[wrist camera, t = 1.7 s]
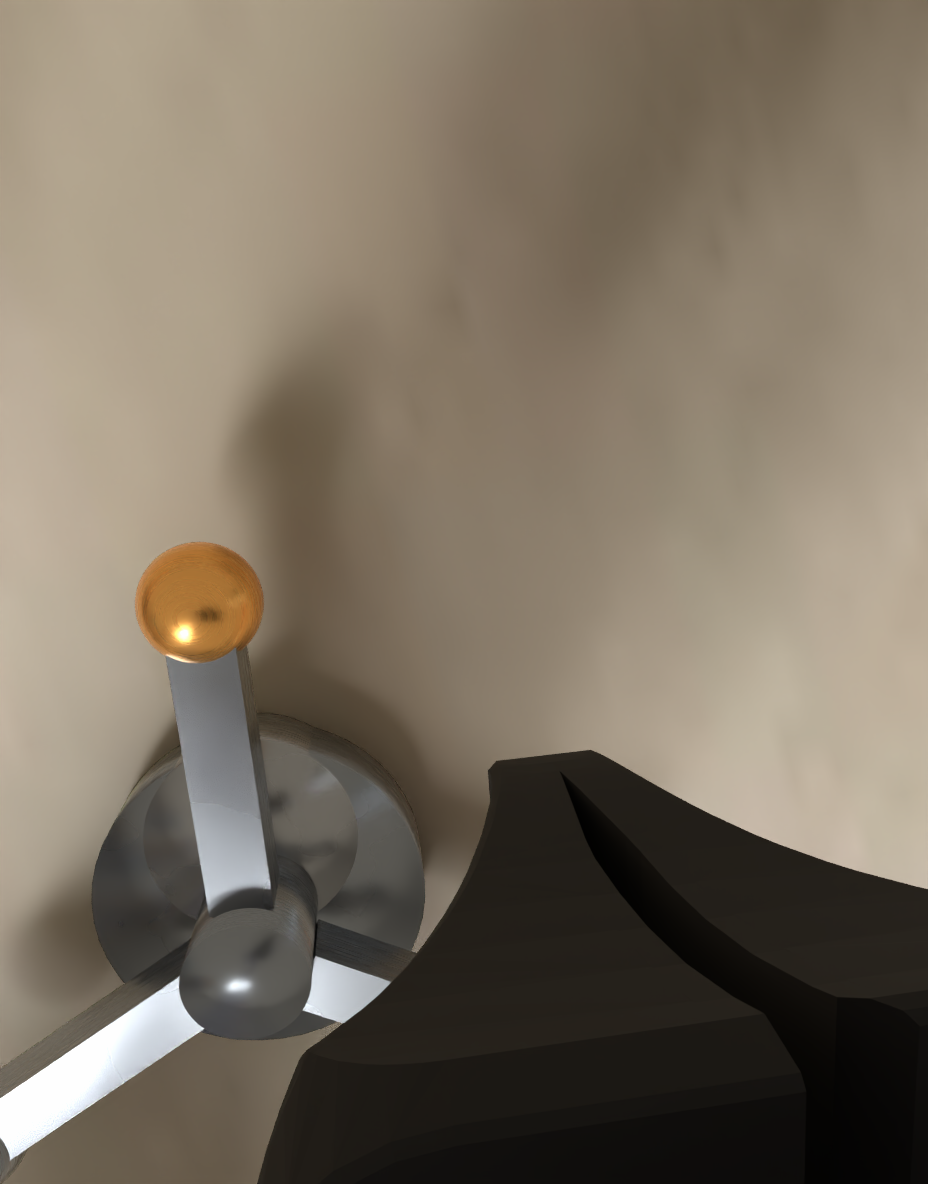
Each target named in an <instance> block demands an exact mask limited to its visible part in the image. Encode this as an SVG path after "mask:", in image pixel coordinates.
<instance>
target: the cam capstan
mask: <svg viewBox="0 0 928 1184" xmlns="http://www.w3.org/2000/svg"><path fill="white" fill-rule="evenodd" d="M263 608H264V598H263V591H262V587H261V584H260V582H259V579H258V577H257V575H256V573H255V572H254V570H253V569H252V567H251V566H250V565H249V564H248V563H247V561H246V560H245V559H243V558H242V557H241V556H240V555H238V554H237V553H236V552H234V551H232V550H230V549H228V548H226V547H224V546H221V545H218V544H213V543H207V542H191V543H185V544H182V545H178V546H176V547H173V548H171V549H169V550H167V551H166V552H164V553H162V554H161V555H159V556H158V557H157V558H156V559H155V560H154V561H153V562H152V563H151V564H150V565H149V566H148V568H147V569H146V570H145V572H144V573H143V575H142V577H141V579H140V581H139V584H138V587H137V592H136V597H135V611H136V617H137V621H138V624H139V626H140V629H141V631H142V632H143V634H144V636H145V637H146V639H147V640H148V642H149V643H150V644H151V645H152V646H153V647H154V648H155V649H156V650H157V651H159V652H160V653H161V654H163V655H164V656H166V661H167V667H168V673H169V679H170V685H171V691H172V697H173V703H174V709H175V715H176V721H177V727H178V733H179V739H180V746H178V747H177V748H175V749H173V750H172V751H170V752H169V753H168V754H167V755H165V756H164V757H163V758H162V759H160V760H159V761H158V762H157V763H155V764H154V765H153V766H152V767H151V769H150V770H149V771H148V772H147V773H146V774H145V775H144V776H143V777H142V778H141V779H140V781H139V782H138V784H137V785H136V786H135V788H134V789H133V791H132V792H131V793H130V795H129V797H128V799H127V800H126V802H125V804H124V806H123V808H122V809H121V811H120V813H119V815H118V817H117V818H116V820H115V822H114V824H113V826H112V827H111V829H110V831H109V833H108V835H107V837H106V839H105V841H104V843H103V845H102V847H101V850H100V853H99V856H98V859H97V862H96V865H95V871H94V876H93V882H92V910H93V918H94V924H95V927H96V931H97V934H98V938H99V941H100V943H101V946H102V948H103V950H104V952H105V954H106V957H107V959H108V960H109V962H110V964H111V965H112V967H113V968H114V970H115V971H116V973H117V974H118V976H119V977H120V978H121V979H122V980H123V982H124V983H125V984H123V985H122V986H120V987H119V988H118V989H116V990H115V991H113V992H112V993H110V994H109V995H107V996H106V997H104V998H103V999H101V1000H100V1001H99V1002H97V1003H96V1004H94V1005H93V1006H91V1007H90V1008H88V1009H87V1010H85V1011H84V1012H82V1013H81V1014H80V1015H78V1016H77V1017H75V1018H74V1019H72V1020H71V1021H69V1022H68V1023H66V1024H65V1025H63V1026H62V1027H61V1028H59V1029H58V1030H56V1031H55V1032H53V1033H52V1034H50V1035H49V1036H47V1037H46V1038H44V1039H43V1040H42V1041H40V1042H39V1043H37V1044H36V1045H34V1046H33V1047H31V1048H30V1049H28V1050H27V1051H25V1052H24V1053H23V1054H21V1055H20V1056H18V1057H17V1058H15V1059H14V1060H12V1061H11V1062H9V1063H8V1064H6V1065H5V1066H4V1067H2V1068H1V1069H0V1184H1V1183H3V1182H4V1181H5V1180H6V1179H7V1178H8V1177H9V1176H10V1175H11V1174H12V1173H13V1172H14V1170H15V1169H16V1168H17V1166H18V1165H19V1164H20V1162H21V1161H22V1159H23V1157H24V1155H25V1153H26V1151H27V1149H28V1148H29V1147H30V1146H32V1145H33V1144H35V1143H36V1142H38V1141H39V1140H41V1139H42V1138H44V1137H45V1136H47V1135H48V1134H50V1133H51V1132H53V1131H54V1130H56V1129H57V1128H58V1127H60V1126H61V1125H63V1124H64V1123H66V1122H67V1121H69V1120H70V1119H72V1118H73V1117H75V1116H76V1115H78V1114H79V1113H81V1112H82V1111H84V1110H85V1109H87V1108H88V1107H89V1106H91V1105H92V1104H94V1103H95V1102H97V1101H98V1100H100V1099H101V1098H103V1097H104V1096H106V1095H107V1094H109V1093H110V1092H112V1091H113V1090H115V1089H116V1088H118V1087H119V1086H120V1085H122V1084H123V1083H125V1082H126V1081H128V1080H129V1079H131V1078H132V1077H134V1076H135V1075H137V1074H138V1073H140V1072H141V1071H143V1070H144V1069H146V1068H147V1067H149V1066H150V1065H151V1064H153V1063H154V1062H156V1061H157V1060H159V1059H160V1058H162V1057H163V1056H165V1055H166V1054H168V1053H169V1052H171V1051H172V1050H174V1049H175V1048H177V1047H178V1046H180V1045H181V1044H183V1043H184V1042H185V1041H187V1040H188V1039H190V1038H191V1037H193V1036H194V1035H196V1034H197V1033H199V1032H203V1033H207V1034H211V1035H215V1036H219V1037H225V1038H229V1039H236V1040H269V1039H281V1038H287V1037H292V1036H297V1035H302V1034H305V1033H309V1032H312V1031H315V1030H318V1029H321V1028H324V1027H326V1026H328V1025H331V1024H333V1023H335V1022H340V1023H345V1022H346V1021H347V1020H348V1019H350V1018H351V1017H352V1016H354V1015H355V1014H356V1013H358V1012H359V1011H360V1010H362V1009H363V1008H364V1007H365V1006H367V1005H368V1004H369V1003H370V1002H371V1001H372V1000H373V999H375V998H376V997H377V996H378V995H379V994H380V993H381V992H382V991H383V990H384V989H385V988H386V987H387V986H388V985H389V984H390V983H391V982H392V981H393V980H394V979H395V978H396V977H397V976H398V974H399V973H400V972H401V971H402V970H403V969H404V968H405V967H406V966H407V965H408V964H409V963H410V961H411V960H412V959H413V958H414V957H415V955H416V954H417V953H414V952H412V951H411V950H412V947H413V945H414V943H415V940H416V938H417V936H418V933H419V929H420V925H421V921H422V918H423V911H424V903H425V879H424V871H423V863H422V854H421V846H420V840H419V834H418V828H417V824H416V821H415V818H414V815H413V812H412V809H411V807H410V805H409V803H408V801H407V799H406V797H405V795H404V793H403V792H402V791H401V789H400V788H399V786H398V785H397V783H396V782H395V780H394V779H393V778H392V777H391V775H390V774H389V773H388V772H387V771H386V770H385V769H384V768H383V767H382V766H381V765H380V764H379V763H378V762H377V761H376V760H374V759H373V758H372V757H371V756H370V755H369V754H367V753H366V752H365V751H363V750H362V749H360V748H358V747H357V746H355V745H354V744H352V743H351V742H349V741H347V740H345V739H343V738H340V737H338V736H336V735H334V734H332V733H329V732H326V731H323V730H320V729H317V728H314V727H312V726H310V725H308V724H306V723H303V722H301V721H299V720H296V719H293V718H290V717H287V716H282V715H276V714H267V713H257V712H256V705H255V698H254V691H253V684H252V677H251V670H250V663H249V656H248V649H247V644H248V643H249V642H250V641H251V639H252V638H253V637H254V635H255V634H256V632H257V630H258V628H259V626H260V623H261V620H262V615H263Z"/></svg>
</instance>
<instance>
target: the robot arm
mask: <svg viewBox="0 0 928 1184" xmlns="http://www.w3.org/2000/svg"><path fill="white" fill-rule="evenodd" d="M488 778H489V791H490V805H489V809H488V813H487V817H486V821H485V825H484V828H483V832H482V835H481V838H480V841H479V844H478V846H477V849H476V851H475V854H474V856H473V859H472V861H471V864H470V866H469V869H468V871H467V874H466V876H465V878H464V880H463V882H462V884H461V886H460V888H459V890H458V892H457V894H456V895H455V897H454V899H453V901H452V902H451V904H450V906H449V908H448V909H447V911H446V913H445V914H444V916H443V918H442V919H441V920H440V922H439V923H438V925H437V926H436V928H435V929H434V931H433V932H432V933H431V935H430V936H429V938H428V939H427V941H426V942H425V944H424V945H423V946H422V948H421V949H420V950H419V951H418V953H417V954H416V955H415V957H414V958H413V959H412V960H411V961H410V963H409V964H408V965H407V966H406V967H405V968H404V969H403V970H402V971H401V972H400V973H399V974H398V976H397V977H396V978H395V979H394V980H393V981H392V982H391V983H390V984H389V985H388V986H387V987H386V988H385V989H384V990H383V991H382V992H381V993H380V994H379V995H378V996H377V997H376V998H375V999H373V1000H372V1001H371V1002H370V1003H369V1004H368V1005H367V1006H365V1007H364V1008H363V1009H362V1010H360V1011H359V1012H358V1013H356V1014H355V1015H354V1016H352V1017H351V1018H350V1019H348V1020H347V1021H346V1022H345V1023H343V1024H342V1025H341V1026H339V1027H338V1028H337V1029H335V1030H334V1031H333V1032H331V1033H330V1034H329V1035H328V1036H326V1037H325V1038H324V1039H322V1040H321V1041H320V1042H318V1043H317V1044H315V1045H314V1046H312V1047H311V1048H309V1049H308V1050H306V1052H305V1053H304V1054H303V1055H302V1056H301V1058H300V1060H299V1062H298V1064H297V1067H296V1069H295V1072H294V1074H293V1077H292V1079H291V1082H290V1085H289V1087H288V1090H287V1093H286V1095H285V1098H284V1100H283V1103H282V1106H281V1108H280V1111H279V1114H278V1117H277V1120H276V1123H275V1126H274V1129H273V1132H272V1135H271V1138H270V1141H269V1144H268V1147H267V1150H266V1154H265V1157H264V1161H263V1164H262V1168H261V1172H260V1176H259V1179H258V1183H257V1184H928V889H924V888H920V887H915V886H912V885H908V884H904V883H900V882H897V881H893V880H889V879H885V878H881V877H878V876H874V875H870V874H866V873H862V872H859V871H855V870H852V869H849V868H846V867H842V866H839V865H836V864H833V863H830V862H826V861H824V860H821V859H818V858H815V857H812V856H810V855H807V854H804V853H801V852H799V851H796V850H793V849H790V848H787V847H785V846H782V845H779V844H776V843H774V842H771V841H769V840H767V839H764V838H762V837H759V836H757V835H754V834H752V833H750V832H748V831H746V830H743V829H741V828H739V827H737V826H735V825H733V824H730V823H728V822H726V821H724V820H722V819H720V818H717V817H715V816H713V815H711V814H709V813H707V812H705V811H703V810H701V809H699V808H697V807H695V806H693V805H691V804H689V803H687V802H686V801H684V800H682V799H680V798H678V797H676V796H674V795H673V794H671V793H669V792H667V791H665V790H663V789H662V788H660V787H658V786H656V785H654V784H653V783H651V782H649V781H647V780H646V779H644V778H642V777H640V776H639V775H637V774H635V773H633V772H632V771H630V770H628V769H626V768H625V767H623V766H621V765H619V764H618V763H616V762H614V761H612V760H611V759H609V758H607V757H605V756H603V755H601V754H599V753H597V752H594V751H592V750H586V751H578V752H569V753H561V754H552V755H544V756H535V757H527V758H518V759H510V760H501V761H496V762H495V763H494V764H493V765H492V767H491V768H490V769H489V770H488Z"/></svg>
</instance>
